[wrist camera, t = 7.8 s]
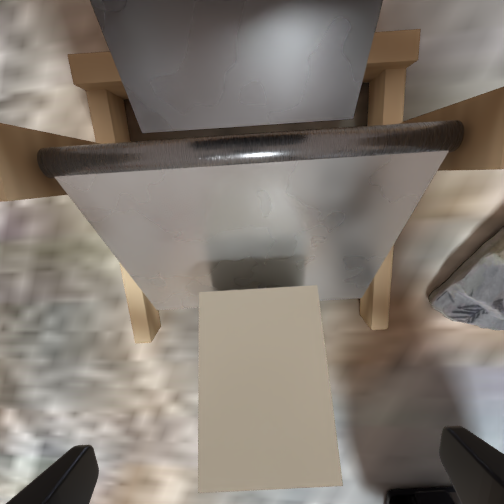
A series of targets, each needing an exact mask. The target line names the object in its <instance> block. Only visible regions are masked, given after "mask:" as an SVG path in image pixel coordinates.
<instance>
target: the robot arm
mask: <svg viewBox="0 0 504 504" xmlns="http://www.w3.org/2000/svg"><path fill="white" fill-rule="evenodd" d="M439 453H440V458H441V461H442V464H443V466H444V468H445V470H446V472H447V474H448V476H449V478H450V480H451V482H452V484H453V486H454V487H439V488H419V489H398V490H391V491H389V492H388V493H387V502H386V504H504V454H503V453H501V452H500V451H498V450H497V449H495V448H494V447H492V446H491V445H489V444H488V443H486V442H485V441H483V440H482V439H480V438H479V437H477V436H476V435H474V434H473V433H471V432H470V431H468V430H467V429H465V428H463V427H461V426H447V427H444V428H443V430H442V436H441V442H440V449H439ZM98 474H99V468H98V464H97V460H96V456H95V453H94V449H93V447H92V446H91V445H77V446H74V447H73V448H71V449H70V450H69V451H68V452H66V453H65V454H64V455H63V456H62V457H61V458H59V459H58V460H57V461H56V462H55V463H53V464H52V465H51V466H50V467H49V468H48V469H46V470H45V471H44V472H43V473H42V474H40V475H39V476H38V477H37V478H36V479H35V480H33V481H32V482H31V483H30V484H29V485H27V486H26V487H25V488H24V489H23V490H22V491H20V492H19V493H18V494H17V495H16V496H14V497H13V498H12V499H11V500H10V501H9V502H7V503H6V504H89V502H90V500H91V497H92V494H93V491H94V488H95V485H96V482H97V479H98Z"/></svg>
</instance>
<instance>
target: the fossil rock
mask: <svg viewBox="0 0 504 504" xmlns="http://www.w3.org/2000/svg"><path fill="white" fill-rule="evenodd" d="M429 302H430V303H431V305H432V307H433V308H434V309H435V310H437V311H439V312H441V313H442V314H443V315H444V316H445V317H446V318H448V319H450V320H452V321H457V322H463V323H467V324H472V325H477V326H479V327H480V328H489V329H492V330H504V227H503V228H502V229H501V230H500V231H499V232H498V233H497V234H496V235H495V236H493V237H492V238H491V239H489V240H488V241H486V242H485V243H484V244H483V245H482V246H481V247H480V248H479V249H478V250H477V251H476V252H475V253H474V254H473V255H472V256H471V257H470V258H469V259H468V260H466V261H465V262H464V263H463V264H462V265H461V266H460V267H459V268H458V269H457V270H456V271H455V272H454V273H453V275H452V276H451V277H450V278H449V279H448V280H447V281H445V282H444V283H443V284H442V285H441V286H440V287H438V288H437V289H436V290H434V291H433V292H432V293H431V295H430V296H429Z"/></svg>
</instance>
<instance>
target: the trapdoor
mask: <svg viewBox="0 0 504 504" xmlns="http://www.w3.org/2000/svg"><path fill="white" fill-rule="evenodd" d="M90 1H91V4H92V7H93V9H94V12H95V14H96V17H97V19H98V22H99V24H100V27H101V29H102V32H103V35H104V37H105V40H106V42H107V45H108V47H109V50H110V52H111V55H112V58H113V60H114V63H115V65H116V68H117V70H118V73H119V75H120V78H121V80H122V83H123V86H124V88H125V91H126V93H127V96H128V98H129V101H130V103H131V106H132V109H133V111H134V114H135V116H136V119H137V121H138V124H139V126H140V129H141V131H142V133H152V132H167V131H182V130H196V129H211V128H226V127H241V126H255V125H270V124H285V123H300V122H314V121H329V120H344V119H353V117H354V113H355V109H356V105H357V101H358V97H359V93H360V89H361V85H362V81H363V77H364V73H365V69H366V65H367V61H368V57H369V53H370V49H371V45H372V41H373V37H374V33H375V29H376V25H377V21H378V17H379V13H380V9H381V5H382V1H383V0H90ZM463 138H464V126H463V123H462V122H461V121H459V120H449V121H434V122H419V123H405V124H390V125H375V126H360V127H345V128H330V129H315V130H301V131H286V132H271V133H256V134H241V135H226V136H212V137H197V138H182V139H167V140H152V141H137V142H123V143H108V144H93V145H78V146H63V147H48V148H41V149H40V150H39V151H38V153H37V162H38V165H39V168H40V170H41V171H42V173H43V174H44V175H45V176H47V177H48V178H55V179H56V180H57V181H58V182H59V184H60V185H61V186H62V188H63V189H64V190H65V192H66V193H67V194H68V195H69V197H70V198H71V199H72V201H73V202H74V203H75V205H76V206H77V207H78V208H79V210H80V211H81V212H82V214H83V215H84V216H85V218H86V219H87V220H88V221H89V223H90V224H91V225H92V227H93V228H94V229H95V231H96V232H97V233H98V234H99V236H100V237H101V238H102V240H103V241H104V242H105V244H106V245H107V246H108V247H109V249H110V250H111V251H112V253H113V254H114V255H115V257H116V258H117V259H118V260H119V262H120V263H121V264H122V266H123V267H124V268H125V270H126V271H127V272H128V273H129V275H130V276H131V277H132V279H133V280H134V281H135V283H136V284H137V285H138V286H139V288H140V289H141V290H142V292H143V293H144V294H145V296H146V297H147V298H148V299H149V301H150V302H151V303H152V305H153V306H154V307H155V309H156V310H167V309H184V308H199V292H210V291H227V290H244V289H261V288H278V287H295V286H311V285H317V286H318V294H319V301H320V300H337V299H354V298H362V297H363V295H364V294H365V292H366V290H367V288H368V287H369V285H370V283H371V282H372V280H373V278H374V277H375V275H376V273H377V272H378V270H379V268H380V267H381V265H382V263H383V261H384V260H385V258H386V256H387V255H388V253H389V251H390V250H391V248H392V246H393V245H394V243H395V241H396V240H397V238H398V236H399V234H400V233H401V231H402V229H403V228H404V226H405V224H406V223H407V221H408V219H409V218H410V216H411V214H412V213H413V211H414V209H415V207H416V206H417V204H418V202H419V201H420V199H421V197H422V196H423V194H424V192H425V191H426V189H427V187H428V186H429V184H430V182H431V180H432V179H433V177H434V175H435V174H436V172H437V170H438V169H439V167H440V165H441V164H442V162H443V160H444V159H445V157H446V155H447V153H448V152H454V151H455V150H457V149H458V148H459V146H460V145H461V143H462V141H463Z"/></svg>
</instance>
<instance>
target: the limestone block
mask: <svg viewBox="0 0 504 504" xmlns="http://www.w3.org/2000/svg"><path fill="white" fill-rule="evenodd" d="M330 486H343V482H342V475H341V467H340V459H339V451H338V443H337V435H336V428H335V420H334V412H333V404H332V396H331V388H330V380H329V373H328V365H327V357H326V349H325V341H324V333H323V326H322V318H321V310H320V302H319V294H318V286H317V285H311V286H295V287H278V288H261V289H244V290H227V291H210V292H199V404H198V493H210V492H230V491H250V490H270V489H290V488H310V487H330Z"/></svg>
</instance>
